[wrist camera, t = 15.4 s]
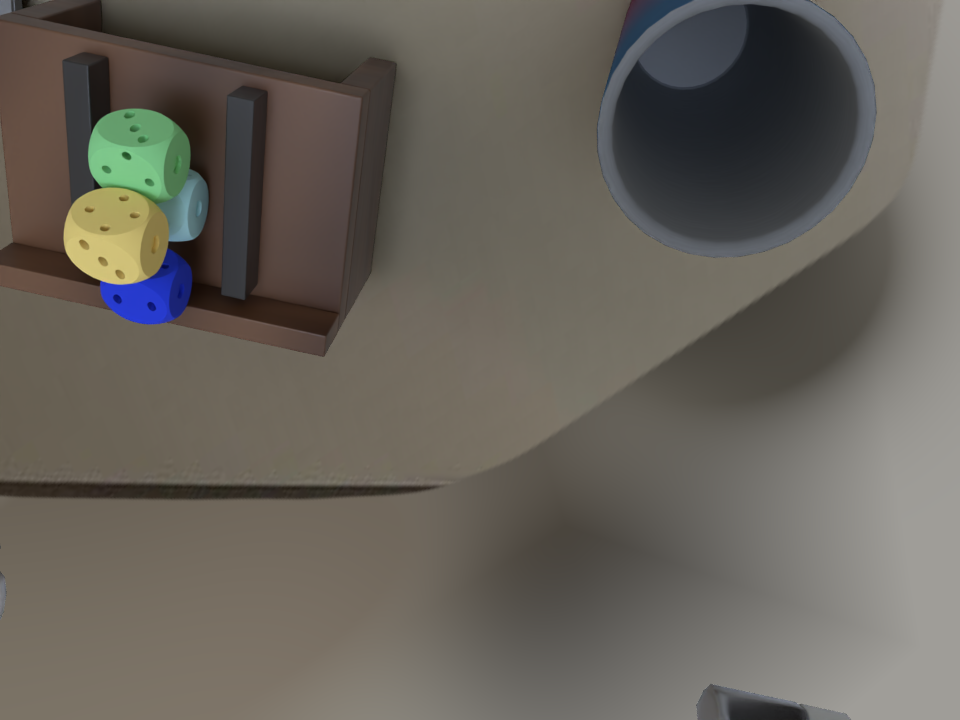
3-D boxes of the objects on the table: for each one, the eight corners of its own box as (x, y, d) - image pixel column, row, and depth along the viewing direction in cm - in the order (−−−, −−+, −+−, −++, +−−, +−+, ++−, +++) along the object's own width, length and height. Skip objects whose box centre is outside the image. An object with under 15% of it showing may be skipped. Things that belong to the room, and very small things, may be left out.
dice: (202, 303, 37) (131, 366, 31) (140, 290, 37) (57, 350, 31) (215, 107, 33) (137, 136, 28) (146, 92, 34) (54, 118, 28)
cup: (792, -65, 33) (908, -8, 20) (761, 118, 37) (843, 266, 24) (608, -69, 34) (608, -17, 21) (594, 110, 37) (587, 250, 25)
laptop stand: (397, 62, 37) (349, 111, 31) (370, 274, 43) (324, 357, 36) (73, -7, 38) (-46, 26, 31) (85, 212, 43) (-15, 283, 36)
